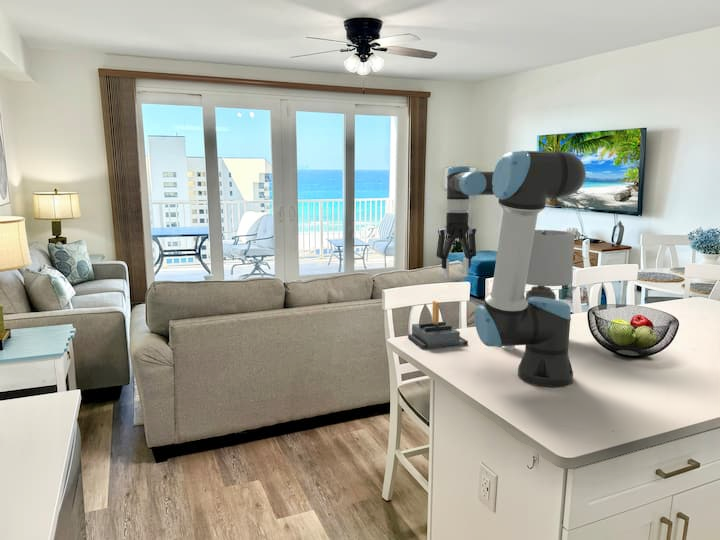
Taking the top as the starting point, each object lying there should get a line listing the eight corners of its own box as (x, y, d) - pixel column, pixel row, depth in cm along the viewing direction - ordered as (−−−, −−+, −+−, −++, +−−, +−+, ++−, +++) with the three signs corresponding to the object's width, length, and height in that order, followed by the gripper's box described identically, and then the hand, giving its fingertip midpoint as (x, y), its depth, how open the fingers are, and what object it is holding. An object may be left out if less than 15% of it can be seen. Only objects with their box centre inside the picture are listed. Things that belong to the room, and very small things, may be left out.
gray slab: (467, 345, 182) (467, 341, 182) (459, 345, 181) (460, 341, 181) (449, 333, 195) (449, 330, 195) (442, 334, 194) (442, 331, 194)
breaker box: (459, 345, 181) (460, 328, 180) (427, 349, 178) (427, 331, 177) (442, 334, 194) (442, 318, 193) (411, 337, 191) (412, 321, 190)
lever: (438, 326, 184) (439, 302, 182) (435, 326, 184) (436, 302, 182) (435, 324, 187) (435, 300, 185) (432, 324, 186) (432, 301, 185)
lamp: (499, 334, 194) (503, 230, 188) (528, 324, 208) (533, 226, 201) (550, 347, 179) (557, 234, 173) (577, 335, 193) (585, 230, 186)
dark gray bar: (426, 348, 178) (426, 344, 178) (422, 349, 178) (422, 345, 178) (411, 338, 190) (411, 334, 190) (408, 338, 190) (408, 334, 190)
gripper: (477, 210, 187) (475, 273, 191) (426, 211, 181) (425, 276, 185) (488, 211, 180) (486, 277, 184) (435, 212, 174) (434, 280, 178)
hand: (455, 277), depth 184 cm, fingers open, 7 cm apart
